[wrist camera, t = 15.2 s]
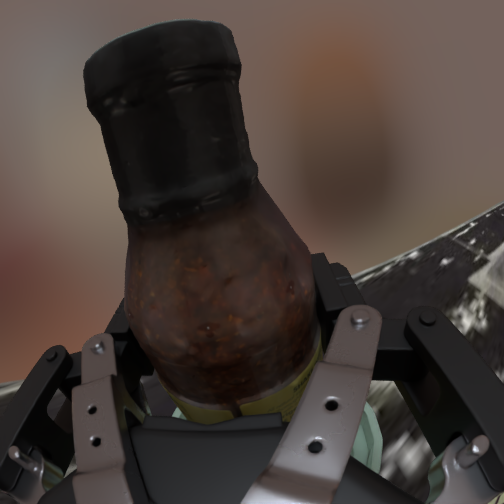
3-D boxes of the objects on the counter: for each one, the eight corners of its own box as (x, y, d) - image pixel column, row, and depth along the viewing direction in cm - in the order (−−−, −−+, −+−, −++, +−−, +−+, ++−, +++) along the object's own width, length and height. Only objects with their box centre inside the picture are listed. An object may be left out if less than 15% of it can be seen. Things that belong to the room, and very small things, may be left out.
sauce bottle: (315, 402, 17) (287, 48, 8) (327, 482, 11) (330, -30, 2) (221, 411, 17) (117, 86, 9) (215, 489, 12) (0, 79, 3)
